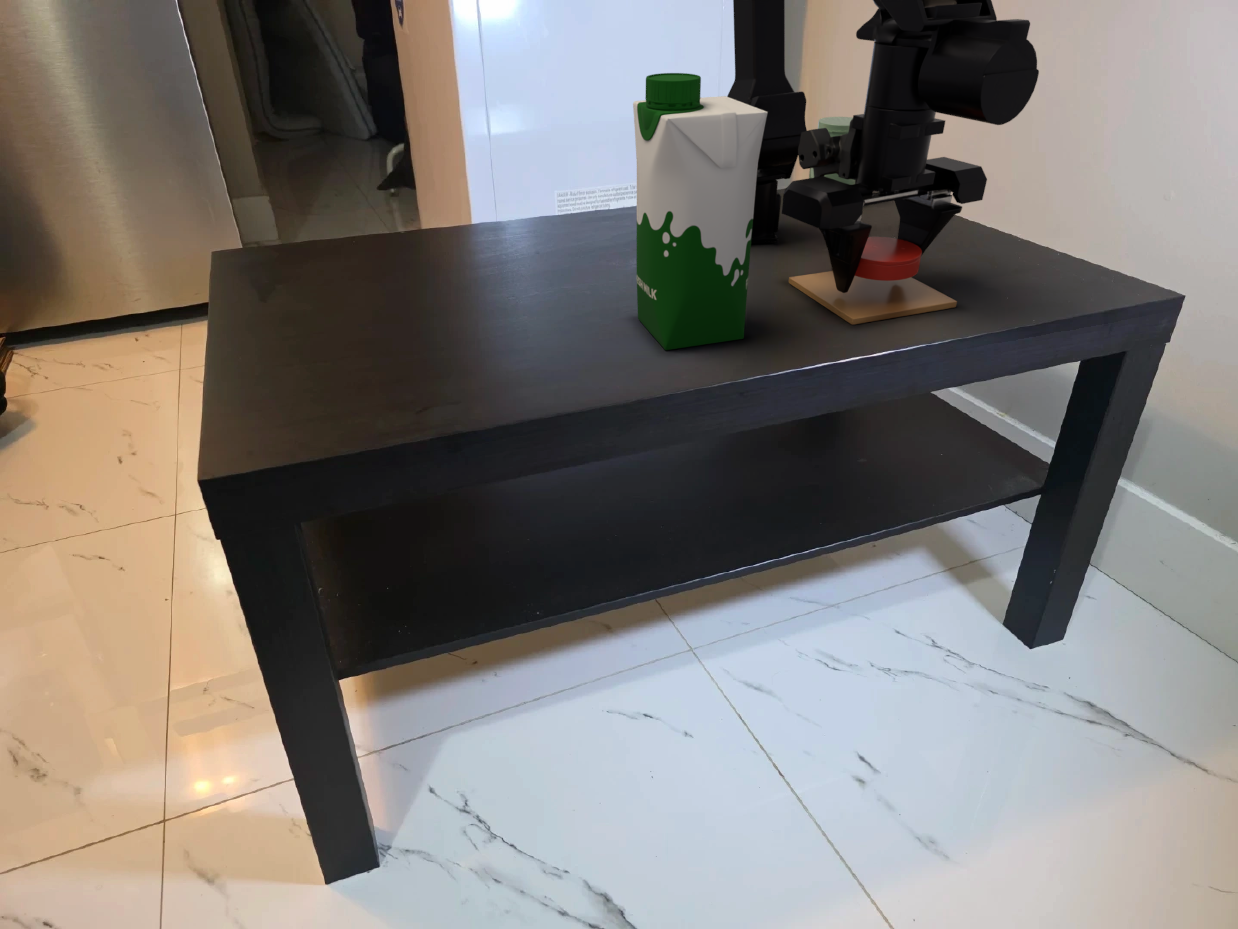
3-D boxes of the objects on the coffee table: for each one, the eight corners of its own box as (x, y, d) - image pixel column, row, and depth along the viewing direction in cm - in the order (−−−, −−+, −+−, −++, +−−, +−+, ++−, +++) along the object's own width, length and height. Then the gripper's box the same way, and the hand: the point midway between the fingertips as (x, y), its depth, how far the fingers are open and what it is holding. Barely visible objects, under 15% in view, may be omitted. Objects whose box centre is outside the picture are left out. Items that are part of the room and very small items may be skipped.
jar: (858, 208, 100) (870, 126, 95) (805, 205, 101) (814, 125, 96) (857, 194, 106) (868, 116, 100) (806, 192, 107) (815, 115, 102)
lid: (883, 249, 78) (886, 232, 77) (935, 271, 73) (939, 252, 72) (826, 262, 76) (828, 244, 75) (875, 286, 71) (879, 266, 70)
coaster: (852, 325, 71) (853, 318, 70) (788, 282, 79) (788, 276, 79) (956, 307, 74) (957, 301, 73) (883, 268, 82) (884, 262, 82)
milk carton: (624, 316, 73) (623, 70, 62) (717, 304, 75) (732, 64, 64) (658, 357, 66) (663, 87, 55) (760, 341, 68) (784, 79, 57)
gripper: (913, 82, 77) (885, 245, 86) (751, 100, 70) (738, 275, 78) (1009, 100, 69) (968, 277, 77) (837, 122, 61) (813, 315, 70)
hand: (870, 284), depth 76 cm, fingers closed on lid, 7 cm apart
